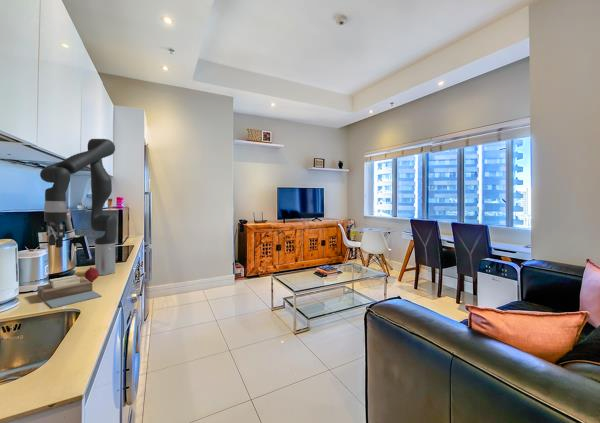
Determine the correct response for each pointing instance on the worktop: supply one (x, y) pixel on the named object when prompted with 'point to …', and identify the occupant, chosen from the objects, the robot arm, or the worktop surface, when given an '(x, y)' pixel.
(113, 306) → the worktop surface
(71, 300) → the mat
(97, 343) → the worktop surface
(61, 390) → the worktop surface
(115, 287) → the worktop surface
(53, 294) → the deck
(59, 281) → the tile
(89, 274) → the onion
